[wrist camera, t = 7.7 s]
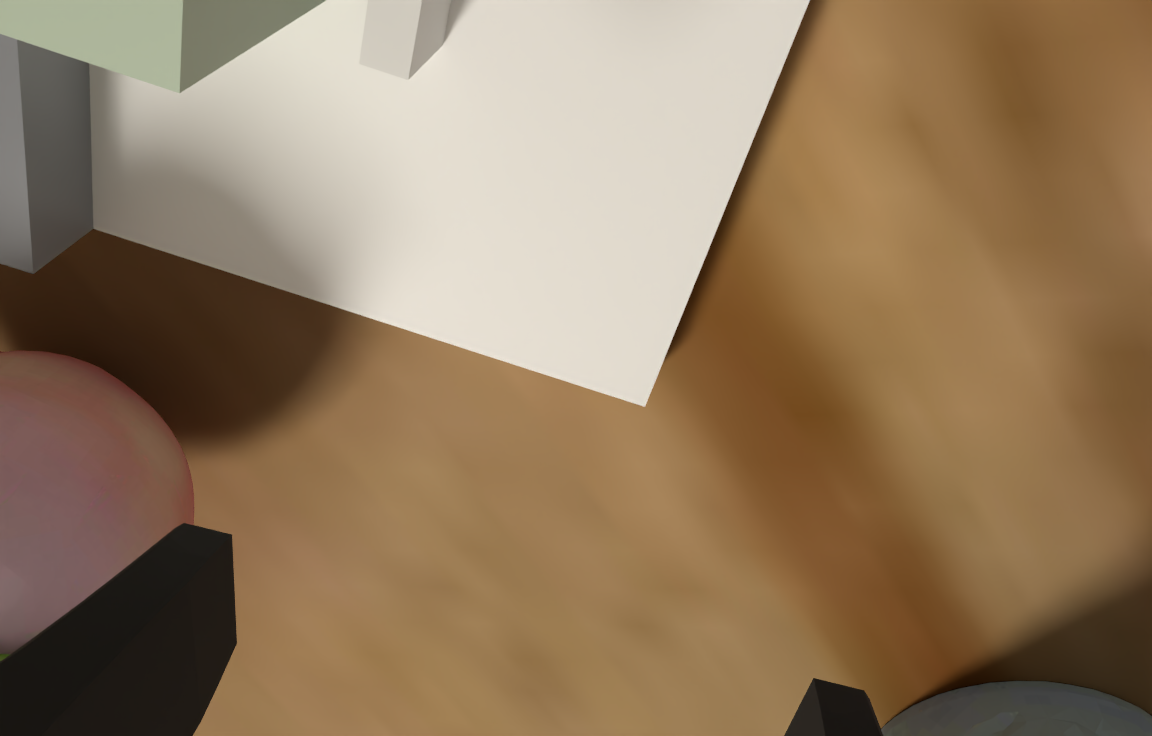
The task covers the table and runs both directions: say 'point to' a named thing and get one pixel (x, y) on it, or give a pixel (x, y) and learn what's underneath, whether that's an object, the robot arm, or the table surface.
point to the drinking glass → (1021, 712)
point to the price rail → (43, 154)
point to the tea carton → (150, 32)
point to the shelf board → (461, 167)
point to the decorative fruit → (77, 486)
